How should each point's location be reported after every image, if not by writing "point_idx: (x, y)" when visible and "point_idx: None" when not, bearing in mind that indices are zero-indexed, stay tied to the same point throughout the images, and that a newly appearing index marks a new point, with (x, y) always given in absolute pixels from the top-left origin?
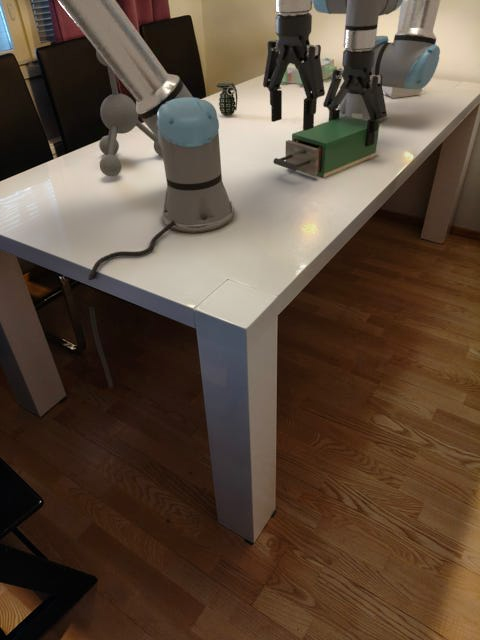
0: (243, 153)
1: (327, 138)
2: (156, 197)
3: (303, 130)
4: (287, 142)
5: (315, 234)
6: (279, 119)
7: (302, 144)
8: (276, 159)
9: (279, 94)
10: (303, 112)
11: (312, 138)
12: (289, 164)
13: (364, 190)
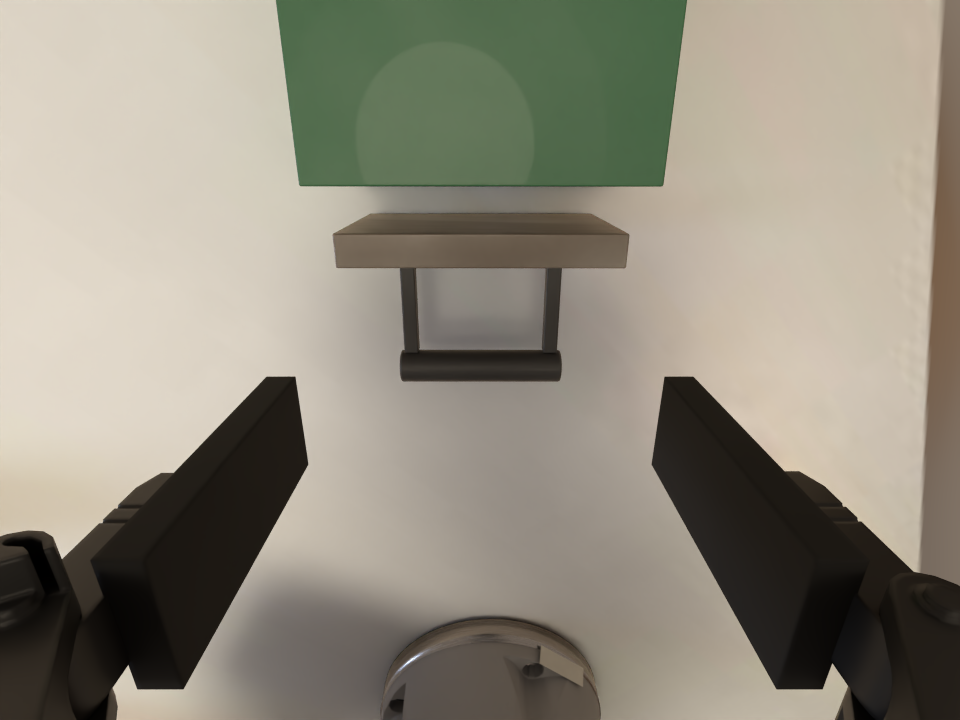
0: (5, 218)
1: (602, 76)
2: (270, 698)
3: (294, 44)
4: (355, 266)
5: None
6: (296, 402)
7: (477, 242)
8: (417, 378)
9: (181, 562)
10: (709, 566)
11: (505, 163)
12: (522, 380)
13: (864, 161)
